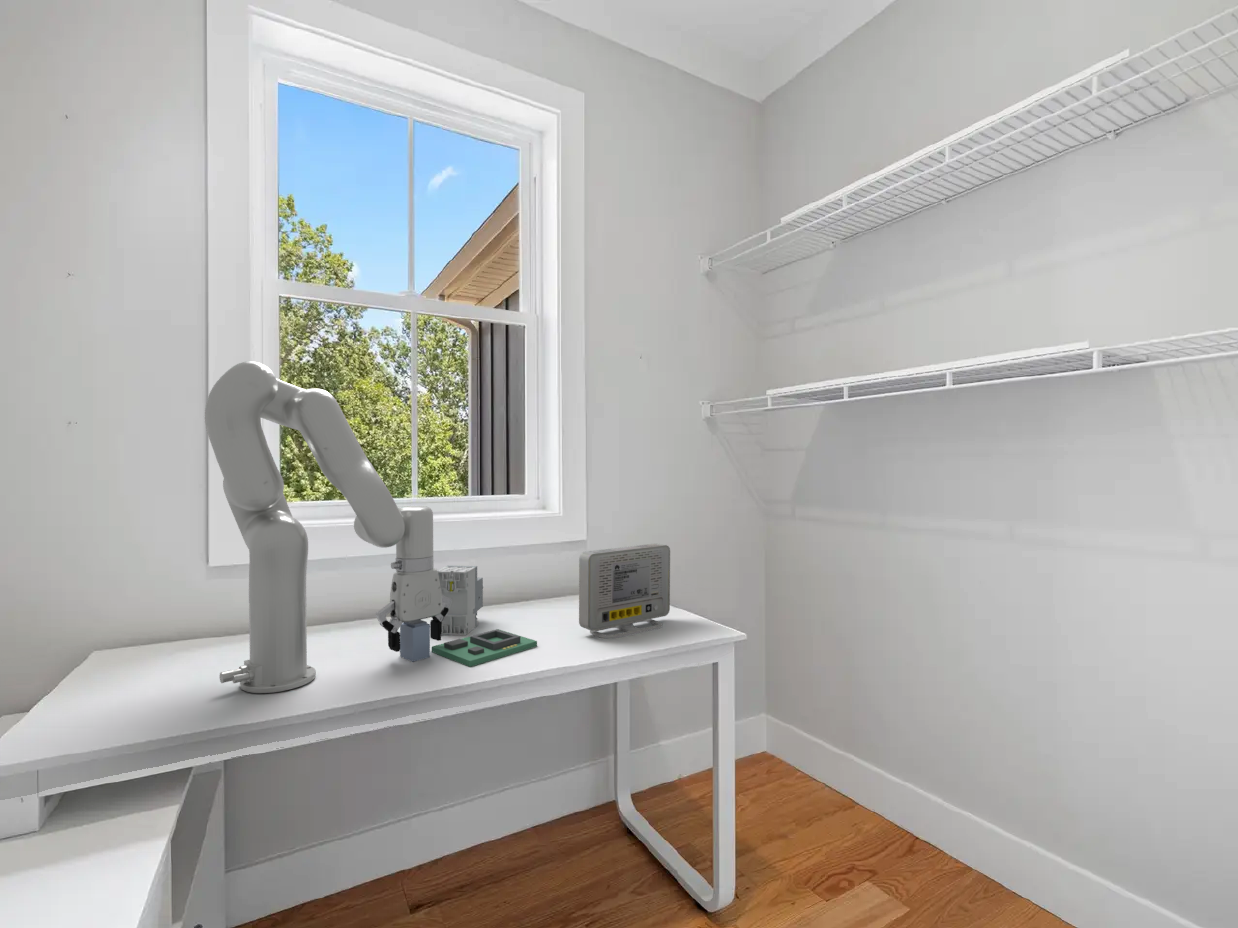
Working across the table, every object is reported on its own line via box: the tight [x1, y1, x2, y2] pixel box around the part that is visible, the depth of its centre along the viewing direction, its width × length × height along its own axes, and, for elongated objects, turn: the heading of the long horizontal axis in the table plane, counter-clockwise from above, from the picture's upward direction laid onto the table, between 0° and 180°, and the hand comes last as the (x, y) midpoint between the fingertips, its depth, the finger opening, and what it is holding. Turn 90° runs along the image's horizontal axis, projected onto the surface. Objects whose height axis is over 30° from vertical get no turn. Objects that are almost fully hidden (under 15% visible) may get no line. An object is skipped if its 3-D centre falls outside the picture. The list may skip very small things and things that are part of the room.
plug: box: [399, 619, 431, 662], centre depth 134 cm, size 4×5×8 cm
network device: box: [578, 543, 671, 640], centre depth 156 cm, size 26×9×20 cm, turn 128°
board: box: [431, 628, 538, 668], centre depth 140 cm, size 18×14×3 cm
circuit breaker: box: [437, 565, 484, 636], centre depth 157 cm, size 8×14×15 cm, turn 174°
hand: (415, 644), depth 135 cm, fingers open, 9 cm apart
